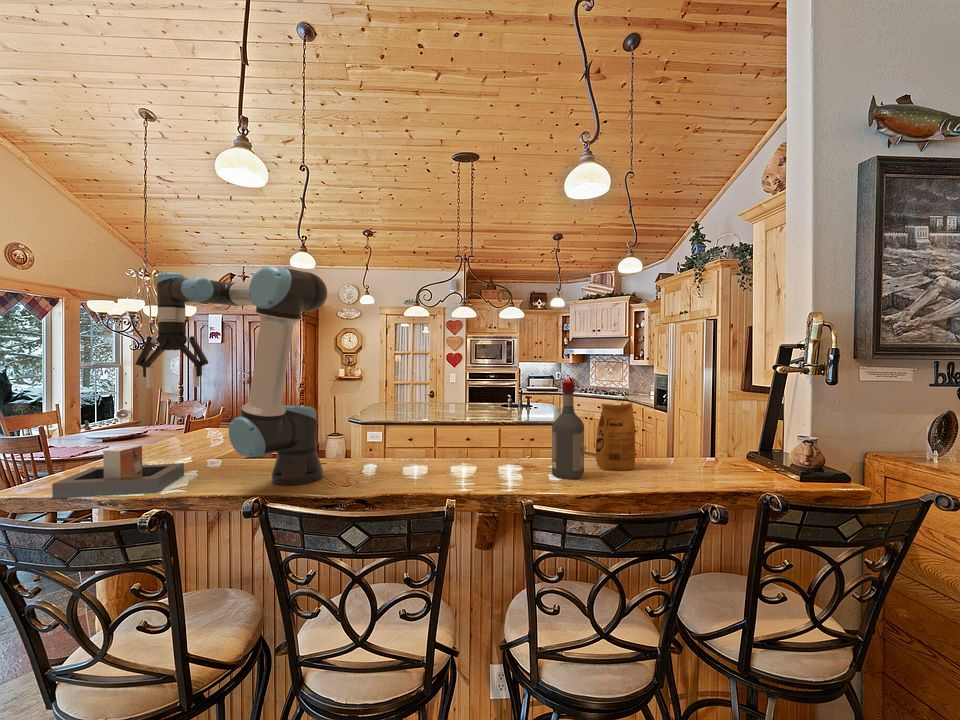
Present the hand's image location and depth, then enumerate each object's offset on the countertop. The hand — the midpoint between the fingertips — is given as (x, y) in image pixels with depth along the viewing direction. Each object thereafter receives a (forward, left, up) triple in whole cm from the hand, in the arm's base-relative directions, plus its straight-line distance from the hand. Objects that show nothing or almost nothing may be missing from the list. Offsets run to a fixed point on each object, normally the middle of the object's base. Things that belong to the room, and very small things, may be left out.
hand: (173, 387), depth 152 cm
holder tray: (+10, +10, -29) cm, 32 cm away
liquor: (-125, +26, -29) cm, 131 cm away
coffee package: (-145, +20, -29) cm, 149 cm away
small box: (+10, +10, -28) cm, 31 cm away
